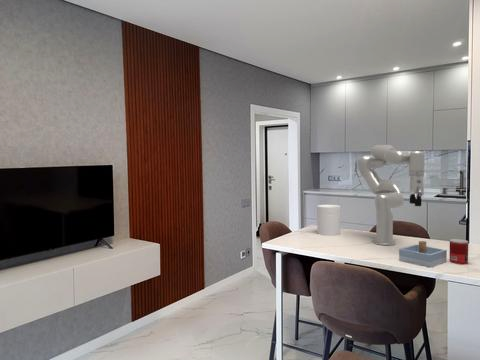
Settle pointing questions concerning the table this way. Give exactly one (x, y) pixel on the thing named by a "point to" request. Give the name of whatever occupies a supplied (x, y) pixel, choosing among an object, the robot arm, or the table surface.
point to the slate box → (423, 256)
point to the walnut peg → (422, 247)
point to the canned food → (458, 251)
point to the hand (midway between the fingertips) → (415, 204)
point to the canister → (328, 220)
